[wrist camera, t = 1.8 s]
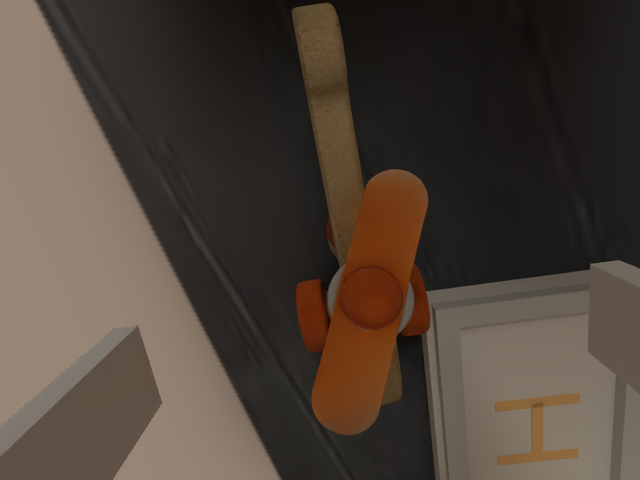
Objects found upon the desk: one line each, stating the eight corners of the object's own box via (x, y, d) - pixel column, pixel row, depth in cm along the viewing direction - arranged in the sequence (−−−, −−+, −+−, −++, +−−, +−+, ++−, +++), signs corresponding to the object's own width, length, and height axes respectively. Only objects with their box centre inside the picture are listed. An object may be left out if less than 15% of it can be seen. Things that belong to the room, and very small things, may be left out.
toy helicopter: (314, 341, 29) (299, 517, 15) (249, 54, 23) (140, -56, 10) (420, 325, 28) (499, 493, 15) (377, 24, 23) (443, -133, 9)
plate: (417, 292, 27) (427, 311, 24) (630, 264, 26) (667, 280, 23) (439, 526, 33) (450, 563, 30) (613, 511, 32) (641, 547, 29)
